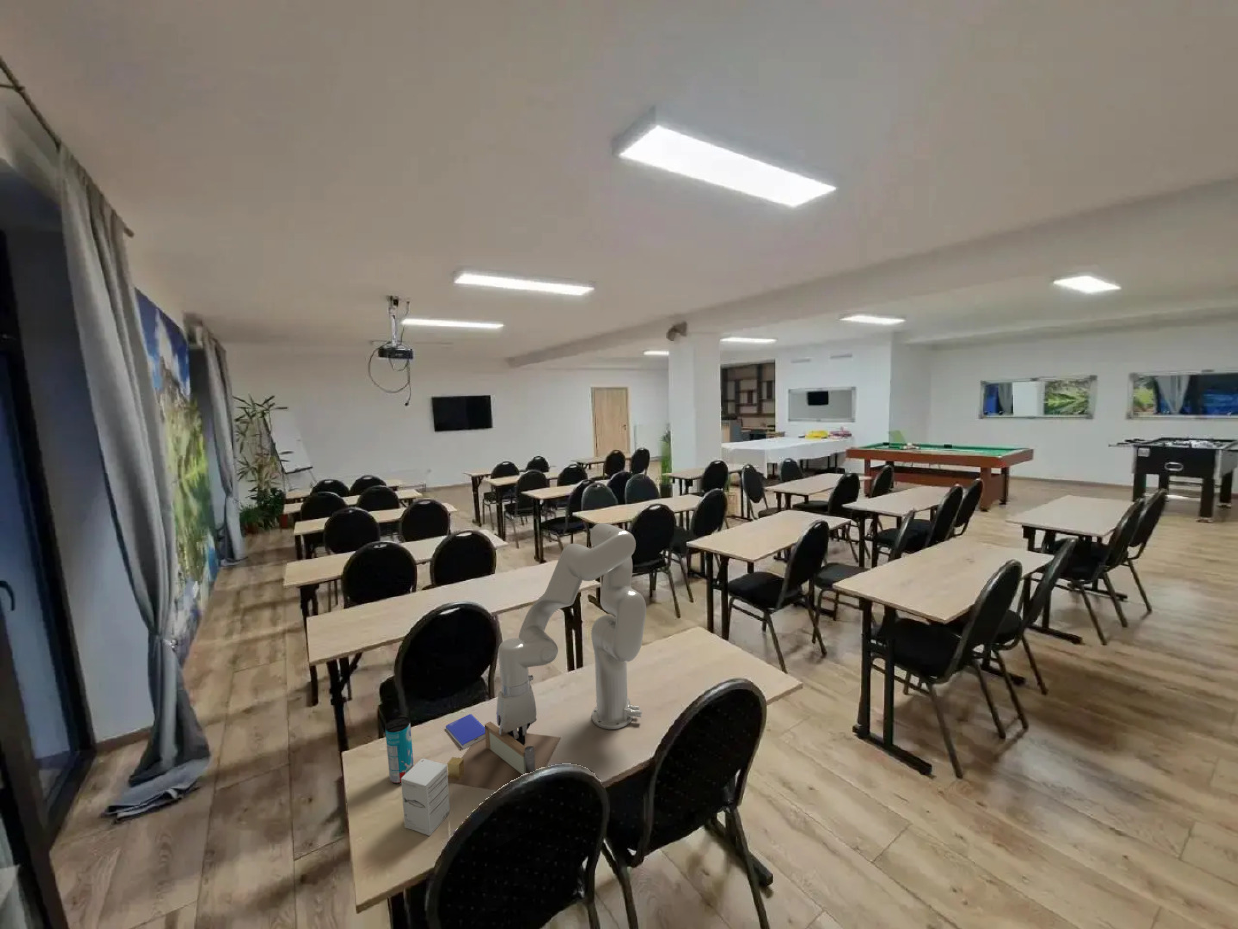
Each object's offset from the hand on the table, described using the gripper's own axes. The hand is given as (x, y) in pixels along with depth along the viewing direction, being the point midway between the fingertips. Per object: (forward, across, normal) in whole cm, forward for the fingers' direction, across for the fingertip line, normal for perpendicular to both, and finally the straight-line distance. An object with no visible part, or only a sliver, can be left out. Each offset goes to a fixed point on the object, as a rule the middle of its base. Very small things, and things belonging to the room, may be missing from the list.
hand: (519, 748), depth 138 cm
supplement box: (+2, +27, +7) cm, 28 cm away
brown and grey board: (+1, +4, +1) cm, 4 cm away
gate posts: (+1, +10, +4) cm, 11 cm away
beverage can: (+2, +28, -12) cm, 30 cm away
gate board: (+2, +4, 0) cm, 5 cm away
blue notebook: (+2, +8, -18) cm, 20 cm away
